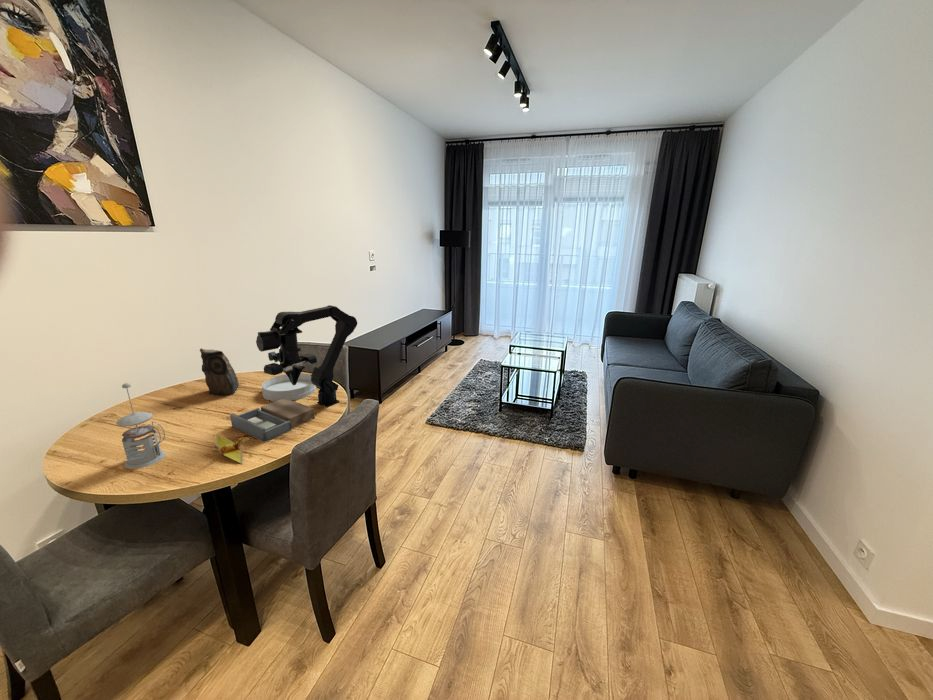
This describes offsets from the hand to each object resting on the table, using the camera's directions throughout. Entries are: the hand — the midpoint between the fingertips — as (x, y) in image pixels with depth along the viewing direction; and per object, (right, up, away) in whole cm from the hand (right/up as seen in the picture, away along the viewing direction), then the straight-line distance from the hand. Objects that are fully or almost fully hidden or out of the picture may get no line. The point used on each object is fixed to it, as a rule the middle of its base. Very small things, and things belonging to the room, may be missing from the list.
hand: (294, 384), depth 139 cm
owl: (-41, -5, +23) cm, 48 cm away
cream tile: (-11, -12, -9) cm, 19 cm away
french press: (-31, -20, -28) cm, 47 cm away
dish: (-13, -6, +24) cm, 28 cm away
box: (-8, -15, -9) cm, 19 cm away
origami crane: (-9, -20, -25) cm, 33 cm away
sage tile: (-5, -13, -12) cm, 18 cm away
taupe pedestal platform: (-2, -12, 0) cm, 13 cm away
